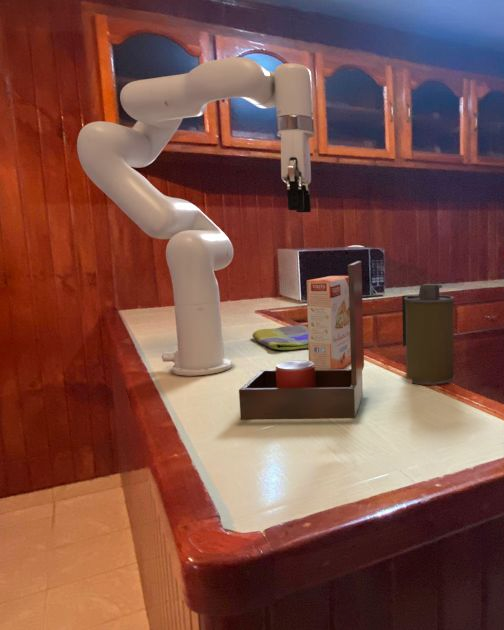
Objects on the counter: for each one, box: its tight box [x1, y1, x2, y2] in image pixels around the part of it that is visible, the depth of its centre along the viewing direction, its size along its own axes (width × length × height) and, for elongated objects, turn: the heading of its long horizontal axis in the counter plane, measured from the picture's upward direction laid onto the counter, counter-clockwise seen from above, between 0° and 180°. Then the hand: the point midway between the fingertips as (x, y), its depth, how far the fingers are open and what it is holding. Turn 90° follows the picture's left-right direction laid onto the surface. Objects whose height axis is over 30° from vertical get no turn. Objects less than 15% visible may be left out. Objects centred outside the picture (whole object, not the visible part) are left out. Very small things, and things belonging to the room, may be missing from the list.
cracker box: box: [306, 275, 351, 369], centre depth 120 cm, size 14×6×21 cm, turn 168°
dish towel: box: [252, 324, 309, 351], centre depth 152 cm, size 18×24×3 cm
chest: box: [238, 368, 364, 421], centre depth 92 cm, size 19×13×6 cm
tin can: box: [275, 359, 316, 388], centre depth 92 cm, size 7×7×8 cm
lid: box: [347, 260, 365, 386], centre depth 90 cm, size 19×13×1 cm
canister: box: [401, 283, 456, 386], centre depth 111 cm, size 11×10×20 cm
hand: (300, 211), depth 114 cm, fingers open, 9 cm apart
